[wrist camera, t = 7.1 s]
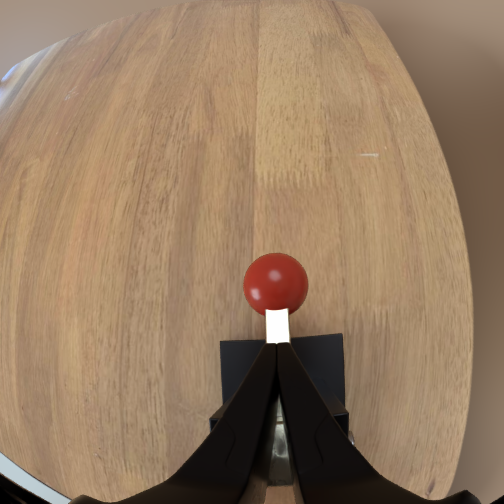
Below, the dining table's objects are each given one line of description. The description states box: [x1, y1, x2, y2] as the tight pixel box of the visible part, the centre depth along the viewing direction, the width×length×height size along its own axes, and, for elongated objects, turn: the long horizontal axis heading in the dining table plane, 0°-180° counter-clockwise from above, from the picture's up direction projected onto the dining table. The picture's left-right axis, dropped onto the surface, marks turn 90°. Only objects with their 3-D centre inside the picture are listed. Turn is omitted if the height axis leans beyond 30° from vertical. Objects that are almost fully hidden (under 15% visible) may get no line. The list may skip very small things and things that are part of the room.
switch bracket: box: [209, 333, 355, 446], centre depth 13 cm, size 10×8×10 cm
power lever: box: [243, 253, 308, 487], centre depth 12 cm, size 11×3×3 cm, turn 2°
